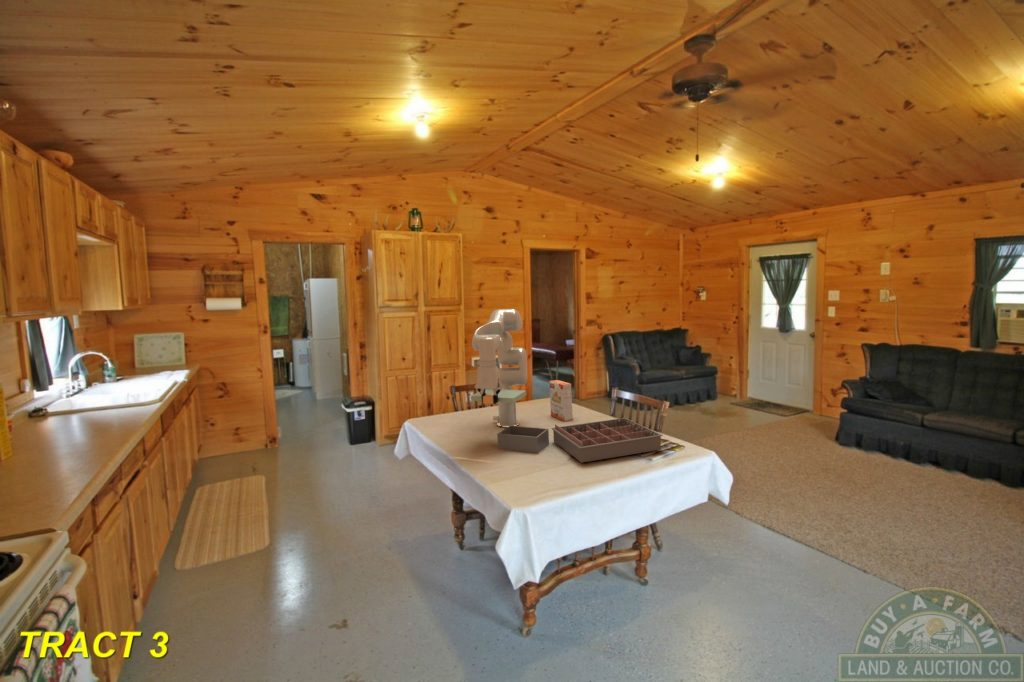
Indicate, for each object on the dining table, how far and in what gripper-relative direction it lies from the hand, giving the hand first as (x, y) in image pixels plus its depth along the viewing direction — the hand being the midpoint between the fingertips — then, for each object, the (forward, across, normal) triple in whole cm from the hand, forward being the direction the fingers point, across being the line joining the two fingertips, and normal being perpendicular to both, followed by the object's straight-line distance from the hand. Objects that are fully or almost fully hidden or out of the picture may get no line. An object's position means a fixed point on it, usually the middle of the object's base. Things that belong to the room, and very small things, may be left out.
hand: (489, 402), depth 229 cm
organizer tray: (+24, +49, +18) cm, 57 cm away
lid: (0, 0, +8) cm, 8 cm away
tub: (+23, +12, +8) cm, 27 cm away
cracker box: (+24, +14, +61) cm, 67 cm away
